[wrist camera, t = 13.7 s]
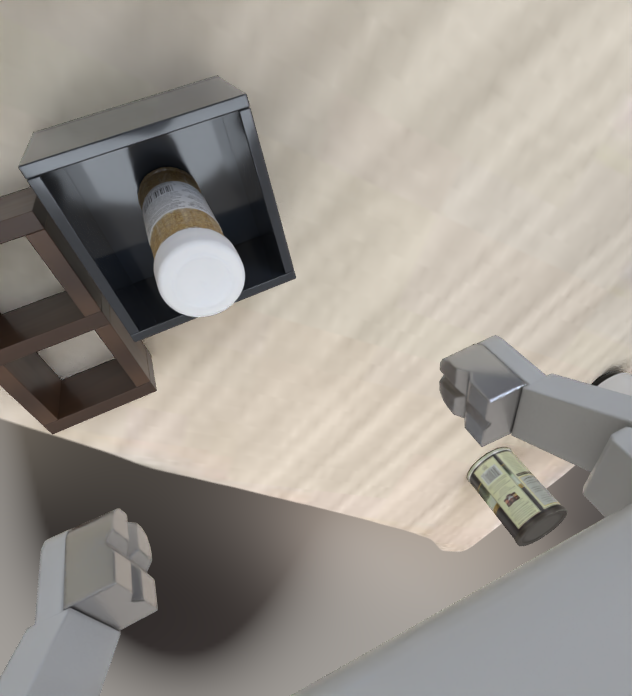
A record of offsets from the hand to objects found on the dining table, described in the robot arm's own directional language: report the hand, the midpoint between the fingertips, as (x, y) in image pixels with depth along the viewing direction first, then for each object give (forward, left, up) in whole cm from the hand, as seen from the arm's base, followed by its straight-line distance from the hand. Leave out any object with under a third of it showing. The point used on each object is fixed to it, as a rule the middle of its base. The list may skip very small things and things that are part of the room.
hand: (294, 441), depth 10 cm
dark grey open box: (+3, -1, -28) cm, 28 cm away
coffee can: (+72, +35, -28) cm, 84 cm away
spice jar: (+3, -1, -27) cm, 28 cm away
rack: (+8, -13, -28) cm, 32 cm away
